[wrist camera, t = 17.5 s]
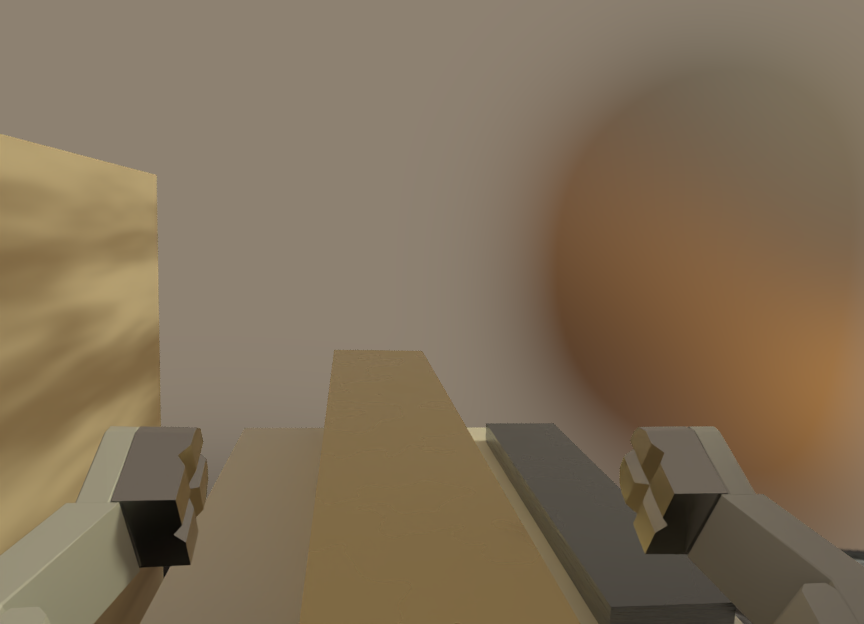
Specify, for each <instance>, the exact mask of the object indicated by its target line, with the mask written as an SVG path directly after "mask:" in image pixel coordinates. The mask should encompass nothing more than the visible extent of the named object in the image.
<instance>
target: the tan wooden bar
mask: <svg viewBox="0 0 864 624" xmlns="http://www.w3.org/2000/svg"><path fill="white" fill-rule="evenodd" d="M299 624H580V622H579V620H578V618H577V617H576V615H575V613H574V612H573V610H572V608H571V606H570V605H569V603H568V601H567V599H566V598H565V596H564V594H563V593H562V591H561V589H560V587H559V586H558V584H557V582H556V581H555V579H554V577H553V575H552V574H551V572H550V570H549V568H548V567H547V565H546V563H545V562H544V560H543V558H542V556H541V555H540V553H539V551H538V550H537V548H536V546H535V544H534V543H533V541H532V539H531V537H530V536H529V534H528V532H527V531H526V529H525V527H524V525H523V524H522V522H521V520H520V519H519V517H518V515H517V513H516V512H515V510H514V508H513V506H512V505H511V503H510V501H509V500H508V498H507V496H506V494H505V493H504V491H503V489H502V488H501V486H500V484H499V482H498V481H497V479H496V477H495V475H494V474H493V472H492V470H491V469H490V467H489V465H488V463H487V462H486V460H485V458H484V457H483V455H482V453H481V451H480V450H479V448H478V446H477V445H476V443H475V441H474V439H473V438H472V436H471V434H470V432H469V431H468V429H467V427H466V426H465V424H464V422H463V420H462V419H461V417H460V415H459V414H458V412H457V410H456V408H455V407H454V405H453V403H452V402H451V400H450V398H449V396H448V395H447V393H446V391H445V389H444V388H443V386H442V384H441V383H440V381H439V379H438V377H437V376H436V374H435V372H434V371H433V369H432V367H431V365H430V364H429V362H428V360H427V358H426V357H425V355H424V353H423V352H422V351H383V350H380V351H379V350H334V355H333V363H332V371H331V379H330V387H329V395H328V402H327V411H326V419H325V426H324V434H323V441H322V449H321V457H320V465H319V473H318V480H317V488H316V496H315V504H314V512H313V519H312V527H311V535H310V543H309V551H308V559H307V566H306V574H305V582H304V590H303V598H302V605H301V613H300V621H299Z"/></svg>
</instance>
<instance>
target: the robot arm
mask: <svg viewBox="0 0 864 624" xmlns="http://www.w3.org/2000/svg"><path fill="white" fill-rule="evenodd" d="M630 441H631V443H632V446H633V450H631V451H630V452H629V453H628V454H626V455H625V456H624V458H623V460H622V464H621V466H620V487H621V492H622V495H623V498H624V501H625V503H626V505H628V506H629V507H630V508H631V509H632V510H633V511H635V512H636V513H637V515H636V518H635V520H634V523H633V525H634V527H635V530H636V532H637V535H638V538H639V540H640V543H641V545H642V548H643V550H644V553H645V554H688V556H687V557H688V558H689V559H690V560H691V561H692V562H693V563H694V564H695V565H696V566H697V567H698V568H699V569H700V570H701V571H702V572H703V573H704V574H705V575H706V576H707V577H708V578H709V579H710V580H711V581H712V583H713V584H714V585H715V586H716V587H717V588H718V589H719V590H720V591H721V592H722V593H723V594H724V595H725V596H726V597H727V598H728V599H729V600H730V601H731V602H732V603H733V604H734V605H735V606H736V607H737V608H738V609H739V610H740V611H741V612H742V613H743V614H744V615H745V616H746V617H747V618H748V619H749V620H750V621H751V623H752V624H864V567H863V566H862V565H861V564H859V563H858V562H856V561H855V560H854V559H852V558H851V557H849V556H848V555H847V554H845V553H844V552H843V551H841V550H840V549H838V548H837V547H836V546H834V545H833V544H832V543H830V542H829V541H827V540H826V539H825V538H823V537H822V536H820V535H819V534H818V533H816V532H815V531H814V530H812V529H811V528H809V527H808V526H806V525H805V524H804V523H802V522H801V521H800V520H798V519H797V518H796V517H794V516H793V515H791V514H790V513H788V512H787V511H786V510H785V509H783V508H782V507H780V506H779V505H777V504H776V503H775V502H773V501H772V500H771V499H769V498H768V497H766V496H765V495H764V494H756V493H755V492H754V490H753V488H752V486H751V485H750V483H749V481H748V480H747V478H746V476H745V475H744V473H743V471H742V469H741V468H740V466H739V464H738V462H737V461H736V459H735V457H734V455H733V454H732V452H731V450H730V449H729V447H728V445H727V443H726V442H725V440H724V438H723V437H722V435H721V433H720V432H719V430H717V429H716V428H715V427H638V428H637V429H636V430H635V431H634V433H633V435H632V437H631V440H630ZM202 444H203V438H202V434H201V429H199V428H188V427H147V426H140V427H129V426H110V427H109V429H108V430H107V431H106V432H105V433H104V435H103V437H102V440H101V442H100V444H99V447H98V449H97V452H96V454H95V456H94V459H93V461H92V464H91V466H90V468H89V471H88V473H87V476H86V478H85V480H84V483H83V485H82V488H81V490H80V492H79V495H78V497H77V500H76V502H75V503H66V504H64V505H63V506H62V507H61V508H59V509H58V510H57V511H56V512H54V513H53V514H52V515H51V516H49V517H48V518H47V519H45V520H44V521H43V522H42V523H40V524H39V525H38V526H37V527H35V528H34V529H33V530H32V531H30V532H29V533H28V534H27V535H25V536H24V537H23V538H22V539H20V540H19V541H18V542H17V543H15V544H14V545H13V546H12V547H10V548H9V549H8V550H7V551H5V552H4V553H3V554H2V555H0V624H94V623H95V622H96V620H97V619H98V618H99V617H100V616H101V615H102V614H103V612H104V611H105V610H106V609H107V608H108V607H109V606H110V604H111V603H112V602H113V601H114V600H115V599H116V598H117V596H118V595H119V594H120V593H121V592H122V591H123V590H124V588H125V587H126V586H127V585H128V584H129V583H130V582H131V581H132V579H133V578H134V577H135V576H136V575H137V574H138V573H139V571H140V568H144V567H164V566H184V565H191V562H192V558H193V553H194V549H195V545H196V541H197V536H198V532H199V531H198V526H197V521H196V517H197V516H198V515H199V514H200V513H201V512H202V511H203V510H204V505H205V500H206V494H207V484H208V469H207V468H208V467H207V461H206V458H205V457H204V456H203V455H201V454H200V453H201V448H202Z"/></svg>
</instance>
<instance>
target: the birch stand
mask: <svg viewBox="0 0 864 624" xmlns="http://www.w3.org/2000/svg"><path fill="white" fill-rule="evenodd" d="M156 176H157V175H154V174H150V173H147V172H143V171H139V170H135V169H132V168H128V167H124V166H120V165H116V164H113V163H109V162H105V161H101V160H97V159H94V158H90V157H86V156H82V155H78V154H75V153H71V152H67V151H63V150H60V149H56V148H52V147H48V146H44V145H40V144H36V143H33V142H29V141H25V140H21V139H18V138H14V137H10V136H6V135H2V134H0V555H2V554H3V553H4V552H5V551H7V550H8V549H9V548H10V547H12V546H13V545H14V544H15V543H17V542H18V541H19V540H20V539H22V538H23V537H24V536H25V535H27V534H28V533H29V532H30V531H32V530H33V529H34V528H35V527H37V526H38V525H39V524H40V523H42V522H43V521H44V520H45V519H47V518H48V517H49V516H51V515H52V514H53V513H54V512H56V511H57V510H58V509H59V508H61V507H62V506H63V505H64V504H66V503H75V502H76V500H77V497H78V495H79V492H80V490H81V488H82V485H83V483H84V480H85V478H86V476H87V473H88V471H89V468H90V466H91V464H92V461H93V459H94V456H95V454H96V452H97V449H98V447H99V444H100V442H101V440H102V437H103V435H104V433H105V432H106V431H107V430H108V429H109V427H110V426H129V427H140V426H147V427H161V415H160V355H159V354H160V353H159V295H158V234H157V177H156ZM162 581H163V567H144V568H140V571H139V573H138V574H137V575H136V576H135V577H134V578H133V579H132V581H131V582H130V583H129V584H128V585H127V586H126V587H125V588H124V590H123V591H122V592H121V593H120V594H119V595H118V596H117V598H116V599H115V600H114V601H113V602H112V603H111V604H110V606H109V607H108V608H107V609H106V610H105V611H104V612H103V614H102V615H101V616H100V617H99V618H98V619H97V620H96V622H95V623H94V624H140V623H141V621H142V619H143V617H144V615H145V613H146V611H147V609H148V608H149V606H150V604H151V602H152V600H153V598H154V596H155V595H156V593H157V591H158V589H159V587H160V585H161V583H162Z"/></svg>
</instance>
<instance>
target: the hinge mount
mask: <svg viewBox="0 0 864 624" xmlns="http://www.w3.org/2000/svg"><path fill="white" fill-rule="evenodd" d="M467 429H468V431H469V432H470V434H471V436H472V438H473V439H474V441H475V443H476V445H477V446H478V448H479V450H480V451H481V453H482V455H483V457H484V458H485V460H486V462H487V463H488V465H489V467H490V469H491V470H492V472H493V474H494V475H495V477H496V479H497V481H498V482H499V484H500V486H501V488H502V489H503V491H504V493H505V494H506V496H507V498H508V500H509V501H510V503H511V505H512V506H513V508H514V510H515V512H516V513H517V515H518V517H519V519H520V520H521V522H522V524H523V525H524V527H525V529H526V531H527V532H528V534H529V536H530V537H531V539H532V541H533V543H534V544H535V546H536V548H537V550H538V551H539V553H540V555H541V556H542V558H543V560H544V562H545V563H546V565H547V567H548V568H549V570H550V572H551V574H552V575H553V577H554V579H555V581H556V582H557V584H558V586H559V587H560V589H561V591H562V593H563V594H564V596H565V598H566V599H567V601H568V603H569V605H570V606H571V608H572V610H573V612H574V613H575V615H576V617H577V618H578V620H579V622H580V624H743V623H742V622H741V621H740V620H739V619H738V618H737V617H736V616H735V610H736V606H735V605H734V604H733V603H732V602H731V601H730V600H729V599H728V598H727V597H726V596H725V595H724V594H723V593H722V592H721V591H720V590H719V589H718V588H717V587H716V586H715V585H714V584H713V583H712V581H711V580H710V579H709V578H708V577H707V576H706V575H705V574H704V573H703V572H702V571H701V570H700V569H699V568H698V567H697V566H696V565H695V564H694V563H693V562H692V561H691V560H690V559H689V558H688V557H687V556H688V555H687V554H645V553H644V550H643V548H642V545H641V543H640V540H639V538H638V535H637V532H636V530H635V527H634V525H633V523H634V520H635V518H636V515H637V513H636V512H635V511H633V510H632V509H631V508H630V507H629V506H628V505H626V503H625V501H624V498H623V495H622V492H621V489H620V488H619V487H618V486H617V485H616V484H615V483H614V482H613V481H612V480H611V479H610V478H609V477H608V476H607V475H606V474H604V472H602V471H601V469H599V468H598V467H597V466H596V465H595V464H594V463H593V462H592V461H591V460H590V459H589V458H588V457H587V456H586V455H585V454H584V453H583V452H582V451H581V450H580V449H579V448H578V447H577V446H576V445H575V444H574V443H573V442H572V441H571V440H570V439H569V438H568V437H567V436H566V435H565V434H564V433H563V432H562V431H560V429H559V428H558V427H557V426H556V425H554V424H486V428H467ZM323 434H324V428H245V429H244V430H243V432H242V434H241V436H240V438H239V440H238V441H237V443H236V445H235V447H234V449H233V451H232V453H231V455H230V456H229V459H228V460H227V462H226V464H225V466H224V468H223V469H222V471H221V473H220V475H219V477H218V479H217V481H216V483H215V484H214V486H213V488H212V490H211V492H210V494H209V496H208V498H207V499H206V501H205V505H204V510H203V511H202V512H201V513H200V514H199V515H198V516H197V518H196V521H197V526H198V531H199V532H198V536H197V541H196V545H195V549H194V553H193V558H192V562H191V565H184V566H171V567H170V568H169V570H168V572H167V574H166V576H165V578H164V580H163V581H162V583H161V585H160V587H159V589H158V591H157V593H156V595H155V596H154V598H153V600H152V602H151V604H150V606H149V608H148V609H147V611H146V613H145V615H144V617H143V619H142V621H141V623H140V624H299V621H300V613H301V605H302V598H303V590H304V582H305V574H306V566H307V559H308V551H309V543H310V535H311V527H312V519H313V512H314V504H315V496H316V488H317V480H318V473H319V465H320V457H321V449H322V441H323Z"/></svg>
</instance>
